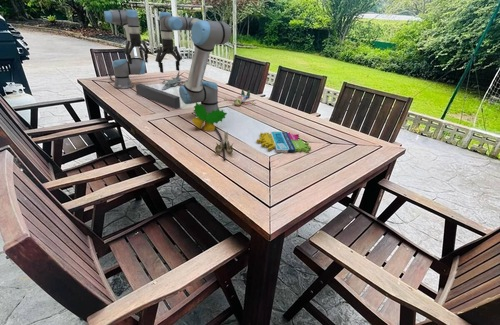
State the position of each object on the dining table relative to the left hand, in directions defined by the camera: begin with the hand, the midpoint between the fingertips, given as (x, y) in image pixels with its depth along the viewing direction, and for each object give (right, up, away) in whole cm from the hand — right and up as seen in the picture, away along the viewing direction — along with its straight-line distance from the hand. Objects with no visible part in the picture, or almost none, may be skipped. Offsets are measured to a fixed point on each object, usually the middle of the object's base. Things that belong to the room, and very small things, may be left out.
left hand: (138, 63), depth 206 cm
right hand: (+31, -14, -21) cm, 40 cm away
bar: (+14, -29, +2) cm, 32 cm away
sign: (+107, -67, -54) cm, 137 cm away
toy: (+81, -27, +14) cm, 87 cm away
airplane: (+14, -4, +47) cm, 50 cm away
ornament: (+63, -57, -42) cm, 95 cm away
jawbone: (+75, -73, -68) cm, 124 cm away
